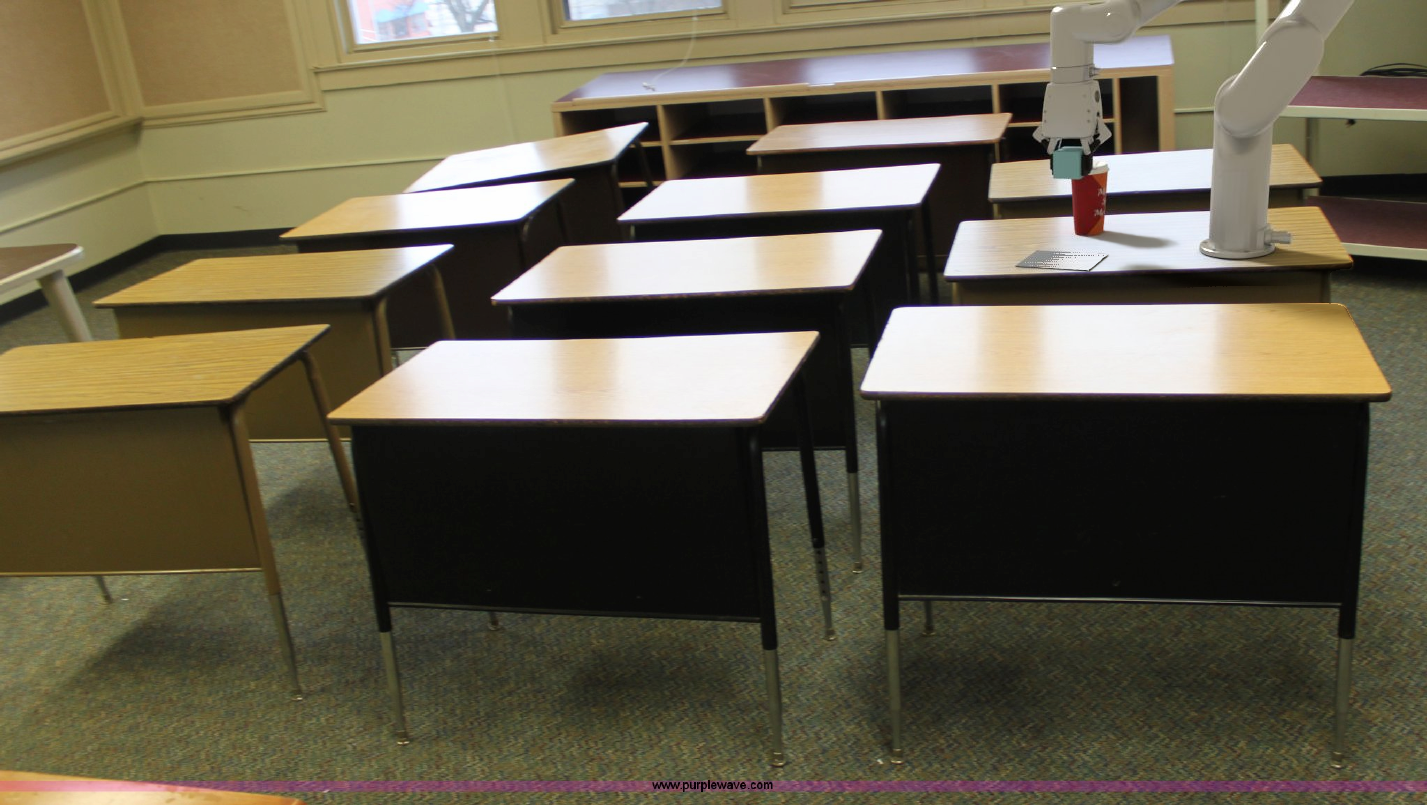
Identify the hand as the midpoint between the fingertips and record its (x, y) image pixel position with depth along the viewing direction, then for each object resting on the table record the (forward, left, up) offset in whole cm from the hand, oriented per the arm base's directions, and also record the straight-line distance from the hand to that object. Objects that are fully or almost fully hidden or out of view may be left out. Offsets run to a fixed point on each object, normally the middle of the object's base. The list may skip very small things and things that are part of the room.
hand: (1071, 173), depth 213 cm
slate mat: (0, +6, -16) cm, 16 cm away
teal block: (0, 0, -1) cm, 1 cm away
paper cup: (+2, -15, -16) cm, 22 cm away
